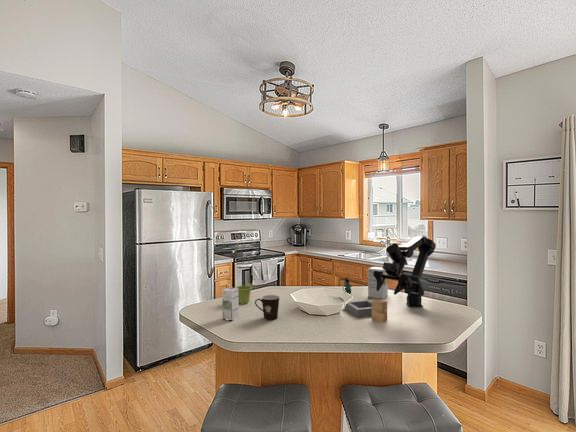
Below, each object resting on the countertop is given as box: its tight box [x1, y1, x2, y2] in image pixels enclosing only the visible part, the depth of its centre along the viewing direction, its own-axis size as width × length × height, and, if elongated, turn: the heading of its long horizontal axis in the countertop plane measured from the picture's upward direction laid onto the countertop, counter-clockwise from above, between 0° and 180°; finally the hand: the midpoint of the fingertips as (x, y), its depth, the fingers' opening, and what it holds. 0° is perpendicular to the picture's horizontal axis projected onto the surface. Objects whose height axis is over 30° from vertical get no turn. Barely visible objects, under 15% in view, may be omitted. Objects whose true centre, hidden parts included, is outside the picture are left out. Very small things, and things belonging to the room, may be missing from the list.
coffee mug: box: [254, 294, 280, 321], centre depth 156 cm, size 12×9×10 cm
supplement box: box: [367, 266, 389, 300], centre depth 192 cm, size 10×9×17 cm
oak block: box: [371, 298, 388, 324], centre depth 150 cm, size 5×5×9 cm
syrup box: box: [221, 287, 240, 321], centre depth 154 cm, size 6×6×14 cm
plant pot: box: [234, 285, 253, 304], centre depth 182 cm, size 9×9×9 cm
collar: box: [344, 299, 373, 318], centre depth 164 cm, size 14×14×4 cm
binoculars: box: [343, 277, 353, 295], centre depth 193 cm, size 9×11×10 cm
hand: (385, 292), depth 153 cm, fingers open, 9 cm apart
